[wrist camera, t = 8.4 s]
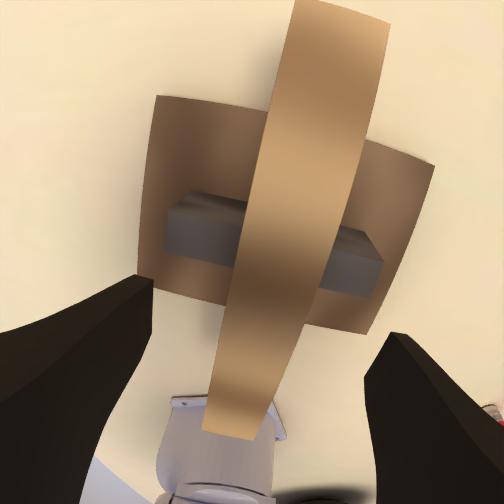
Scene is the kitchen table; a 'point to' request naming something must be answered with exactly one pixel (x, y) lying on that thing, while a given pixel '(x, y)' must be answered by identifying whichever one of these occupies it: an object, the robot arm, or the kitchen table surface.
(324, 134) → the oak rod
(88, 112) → the kitchen table surface
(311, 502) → the bowl of black rocks
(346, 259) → the ridge stand
